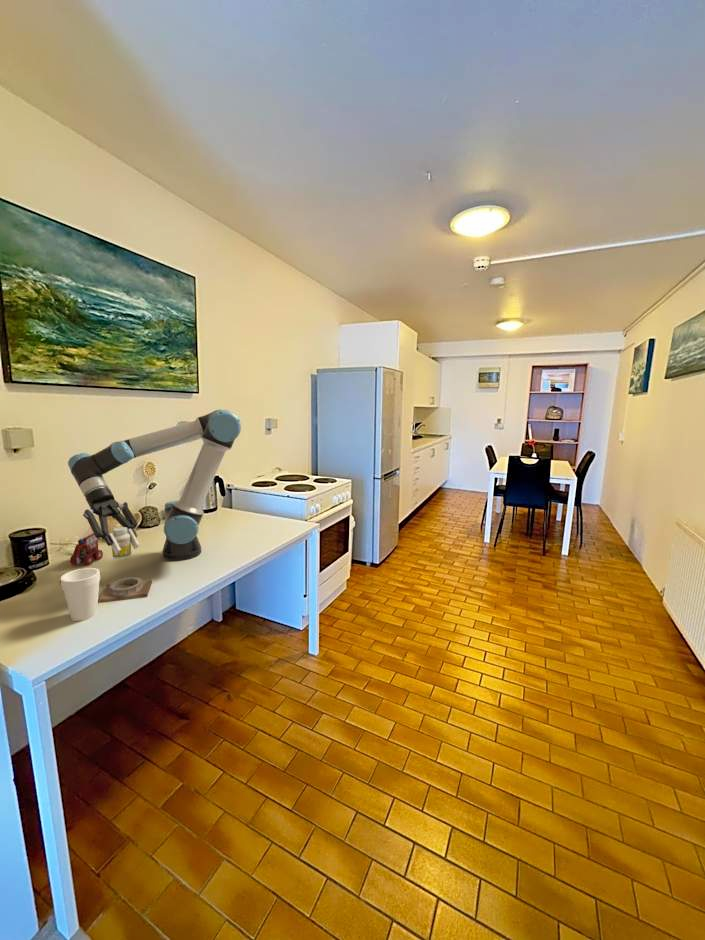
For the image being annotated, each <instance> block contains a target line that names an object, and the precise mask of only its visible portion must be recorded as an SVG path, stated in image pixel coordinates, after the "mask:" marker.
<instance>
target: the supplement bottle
mask: <svg viewBox="0 0 705 940" xmlns="http://www.w3.org/2000/svg"><path fill="white" fill-rule="evenodd" d="M112 531H113V533H112V534H113V536H114V537H115V539H116V541H117V543H118V545H119V547H120V549H121V551H120V552H119V554H117V555H116V554H115V552H114V551H113V549H112V548H111V551H112V552H111V553H112V558H113V559H115V560H124V559H128V558H130V557H131V556H132V544H131V541H130V535H129V534H128V533H127V531H128V530H127V527H123V526H119V527H115V528H113V530H112Z"/></svg>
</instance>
